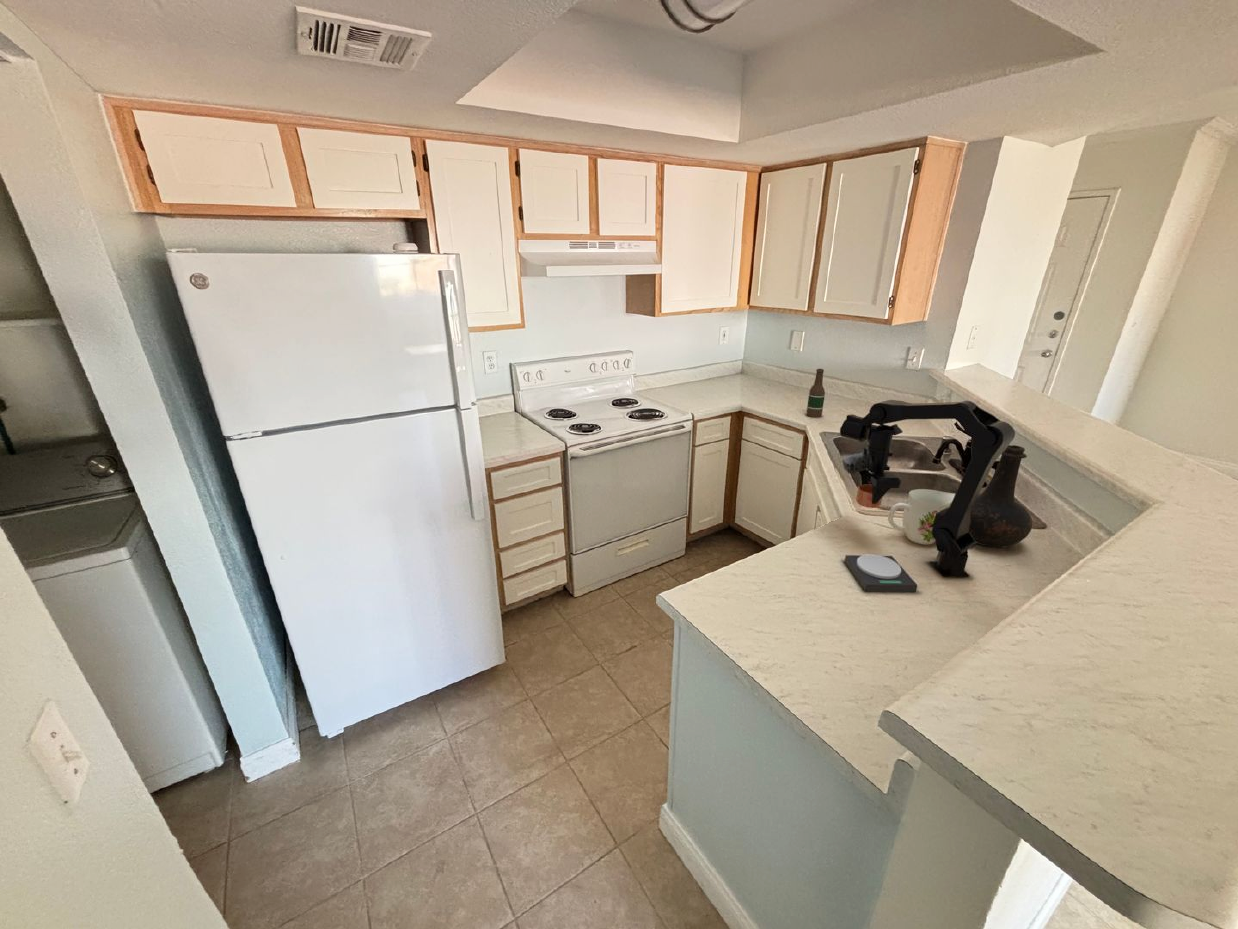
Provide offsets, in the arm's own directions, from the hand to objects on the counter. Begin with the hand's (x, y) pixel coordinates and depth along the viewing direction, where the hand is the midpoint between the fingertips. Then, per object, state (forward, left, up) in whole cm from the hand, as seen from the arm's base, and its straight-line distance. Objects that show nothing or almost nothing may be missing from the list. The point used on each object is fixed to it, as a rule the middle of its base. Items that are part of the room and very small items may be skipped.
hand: (869, 498), depth 142 cm
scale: (-22, +5, -11) cm, 25 cm away
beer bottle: (+122, -25, -12) cm, 125 cm away
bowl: (0, 0, -2) cm, 2 cm away
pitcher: (-3, -14, -12) cm, 18 cm away
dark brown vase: (-3, -33, -12) cm, 35 cm away
